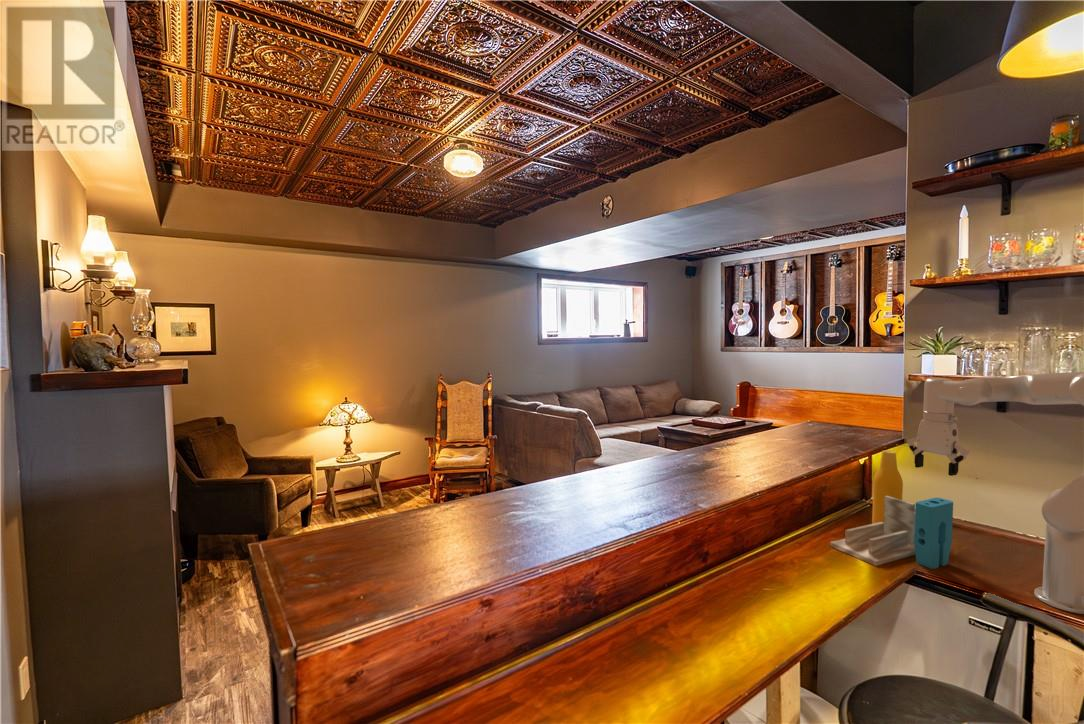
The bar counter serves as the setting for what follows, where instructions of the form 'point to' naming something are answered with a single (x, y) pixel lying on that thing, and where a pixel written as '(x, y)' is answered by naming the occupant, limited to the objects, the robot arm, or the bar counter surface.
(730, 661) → the bar counter surface
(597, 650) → the bar counter surface
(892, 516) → the book stand
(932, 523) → the block
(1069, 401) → the robot arm
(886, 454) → the beer bottle
